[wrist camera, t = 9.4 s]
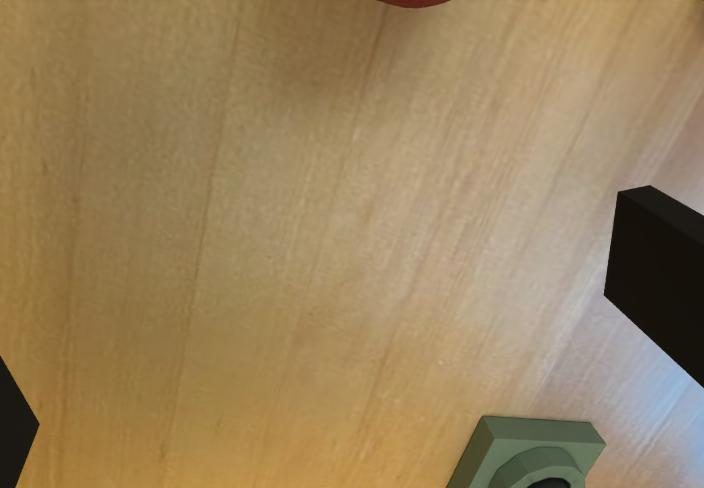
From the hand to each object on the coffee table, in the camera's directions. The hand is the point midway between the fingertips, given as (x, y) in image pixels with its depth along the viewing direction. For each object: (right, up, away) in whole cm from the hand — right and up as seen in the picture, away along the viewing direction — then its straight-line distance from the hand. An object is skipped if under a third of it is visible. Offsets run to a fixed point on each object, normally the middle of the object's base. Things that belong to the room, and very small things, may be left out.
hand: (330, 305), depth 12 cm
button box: (+14, -16, +33) cm, 39 cm away
